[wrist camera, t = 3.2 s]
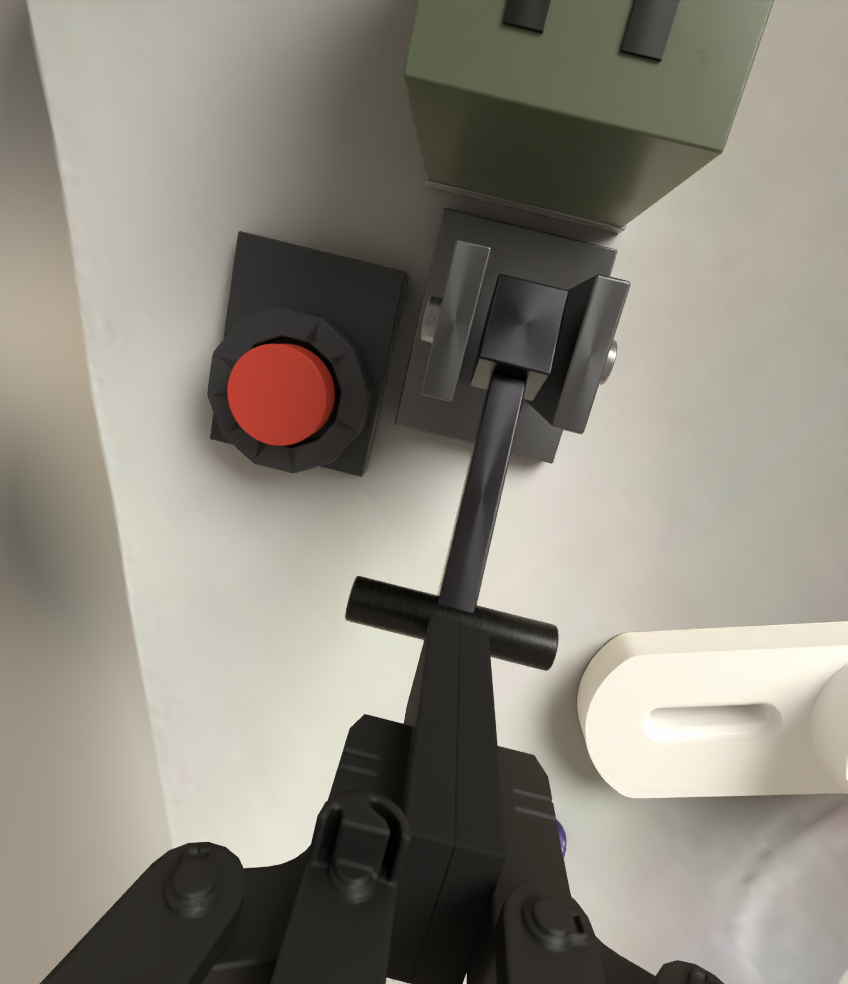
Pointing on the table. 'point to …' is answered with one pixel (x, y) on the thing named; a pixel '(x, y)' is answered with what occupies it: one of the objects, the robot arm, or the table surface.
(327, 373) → the red round push button
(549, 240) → the bracket
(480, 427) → the toaster lever
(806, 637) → the bracket
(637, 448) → the table surface
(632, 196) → the toaster
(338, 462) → the button block
